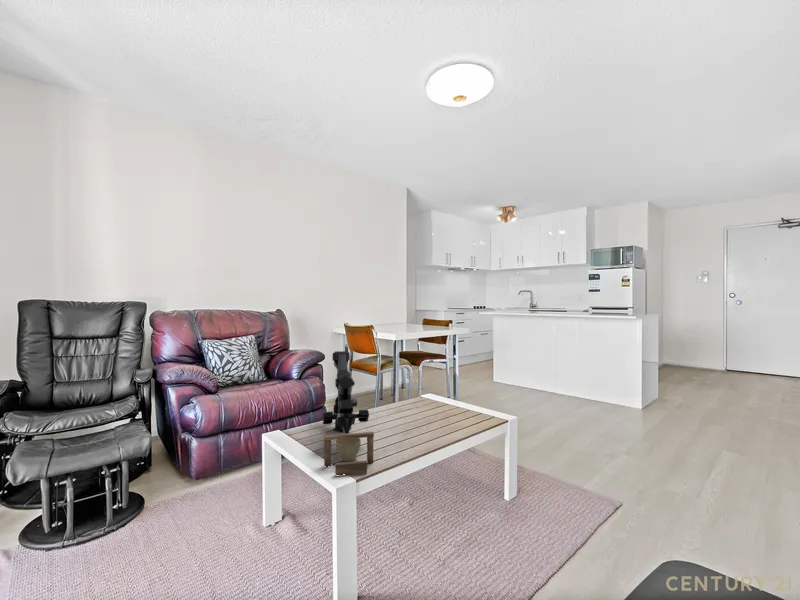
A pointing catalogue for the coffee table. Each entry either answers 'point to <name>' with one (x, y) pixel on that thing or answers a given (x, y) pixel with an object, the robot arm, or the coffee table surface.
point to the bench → (349, 467)
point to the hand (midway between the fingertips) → (347, 436)
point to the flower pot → (348, 448)
